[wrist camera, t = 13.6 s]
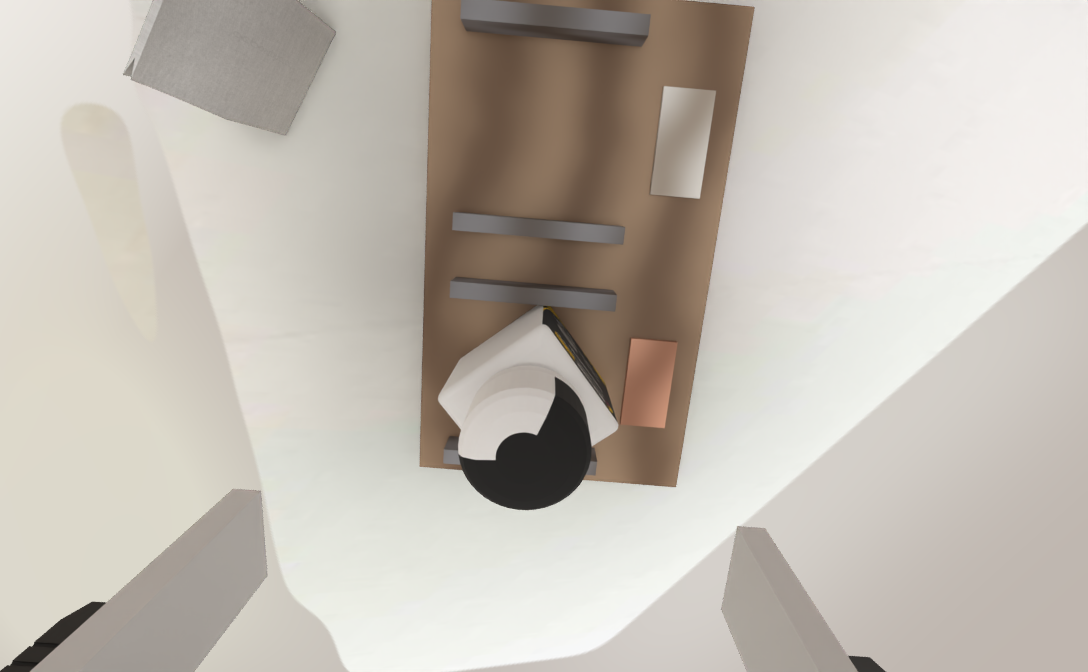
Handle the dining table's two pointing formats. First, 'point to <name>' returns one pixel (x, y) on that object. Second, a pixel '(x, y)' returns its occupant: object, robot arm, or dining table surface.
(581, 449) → the medicine bottle
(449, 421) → the stand
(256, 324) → the dining table surface
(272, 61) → the grey boxy piece
